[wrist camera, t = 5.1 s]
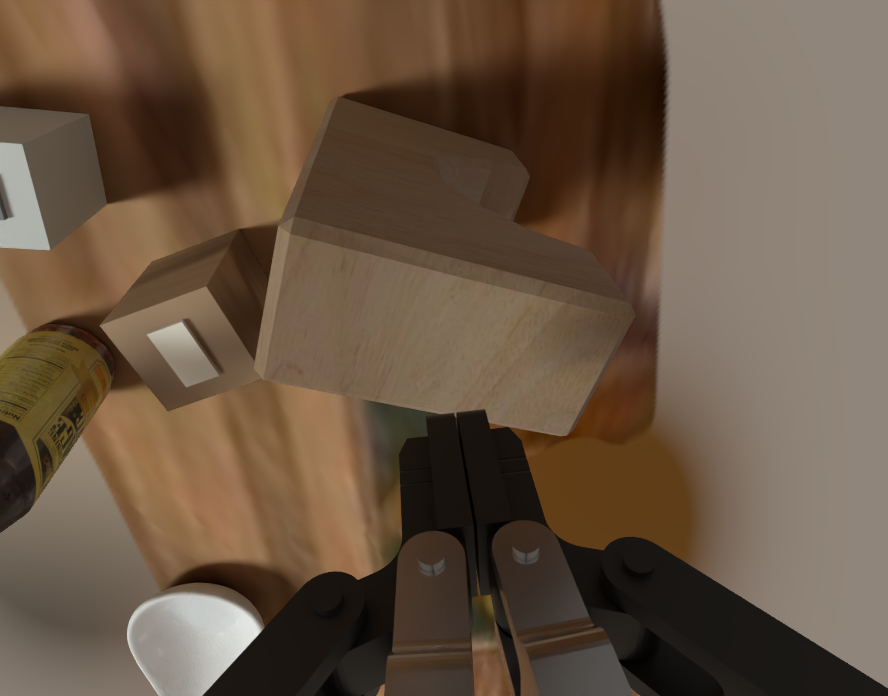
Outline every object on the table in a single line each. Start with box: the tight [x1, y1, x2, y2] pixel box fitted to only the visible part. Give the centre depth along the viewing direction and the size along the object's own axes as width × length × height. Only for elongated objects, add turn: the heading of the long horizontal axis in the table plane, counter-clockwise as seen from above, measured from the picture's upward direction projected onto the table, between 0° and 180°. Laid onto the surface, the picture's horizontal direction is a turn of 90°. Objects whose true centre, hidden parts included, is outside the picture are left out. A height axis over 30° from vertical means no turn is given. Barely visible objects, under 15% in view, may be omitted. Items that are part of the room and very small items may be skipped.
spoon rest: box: [127, 583, 265, 696], centre depth 55 cm, size 24×12×7 cm, turn 178°
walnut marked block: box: [100, 229, 269, 411], centre depth 34 cm, size 6×6×8 cm
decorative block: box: [254, 96, 635, 436], centre depth 26 cm, size 11×6×20 cm, turn 72°
